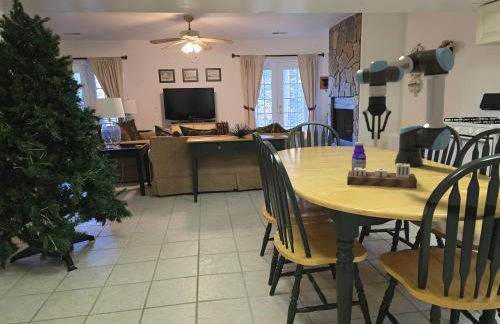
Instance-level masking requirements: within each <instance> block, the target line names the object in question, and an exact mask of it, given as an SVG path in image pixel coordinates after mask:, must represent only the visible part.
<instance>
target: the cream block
mask: <svg viewBox="0 0 500 324" xmlns="http://www.w3.org/2000/svg"><path fill="white" fill-rule="evenodd" d="M374 172H375V177H387V173H388V169H387V168H378V167H377V168H376V167H375V168H374Z"/></svg>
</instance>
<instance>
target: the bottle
mask: <svg viewBox="0 0 500 324" xmlns="http://www.w3.org/2000/svg"><path fill="white" fill-rule="evenodd" d="M365 152H366V150H365V149H364V142H362V141H358V142H357V141H356V142H354V149H353V153H352V155H351V171H354V168H366V169H367V156H366V153H365Z"/></svg>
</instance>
